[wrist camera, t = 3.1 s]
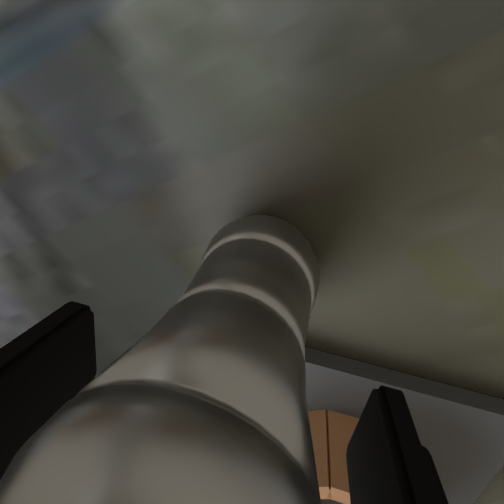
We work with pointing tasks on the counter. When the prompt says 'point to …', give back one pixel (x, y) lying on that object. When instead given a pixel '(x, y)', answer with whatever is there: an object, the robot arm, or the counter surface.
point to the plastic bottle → (196, 393)
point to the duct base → (424, 417)
